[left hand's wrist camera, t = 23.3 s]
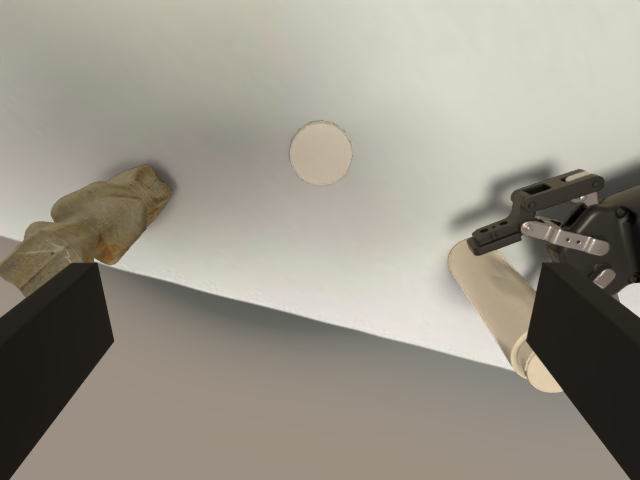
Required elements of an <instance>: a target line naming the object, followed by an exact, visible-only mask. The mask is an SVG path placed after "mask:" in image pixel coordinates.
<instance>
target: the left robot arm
mask: <svg viewBox="0 0 640 480" xmlns="http://www.w3.org/2000/svg"><path fill="white" fill-rule="evenodd" d="M113 342H114V338H113V333H112V329H111V324H110V319H109V314H108V310H107V305H106V301H105V296H104V291H103V287H102V282H101V277H100V272H99V268H98V263H70V264H69V265H68V266H67V267H65V268H64V269H63V270H61V271H60V272H59V273H58V274H56V275H55V276H54V277H52V278H51V279H50V280H48V281H47V282H46V283H45V284H43V285H42V286H41V287H39V288H38V289H37V290H36V291H34V292H33V293H32V294H30V295H29V296H28V297H27V298H25V299H24V300H23V301H21V302H20V303H19V304H18V305H16V306H15V307H14V308H12V309H11V310H10V311H9V312H7V313H6V314H5V315H3V316H2V317H1V318H0V480H9V479H10V478H11V477H12V475H13V474H14V473H15V471H16V470H17V469H18V468H19V466H20V465H21V464H22V462H23V461H24V460H25V458H26V457H27V456H28V454H29V453H30V452H31V450H32V449H33V448H34V446H35V445H36V444H37V442H38V441H39V440H40V439H41V437H42V436H43V435H44V433H45V432H46V431H47V429H48V428H49V427H50V425H51V424H52V423H53V421H54V420H55V419H56V417H57V416H58V415H59V413H60V412H61V411H62V409H63V408H64V407H65V406H66V404H67V403H68V401H69V400H70V399H71V398H72V396H73V395H74V394H75V392H76V391H77V390H78V388H79V387H80V386H81V384H82V383H83V382H84V380H85V379H86V378H87V376H88V375H89V374H90V372H91V371H92V370H93V368H94V367H95V366H96V365H97V363H98V362H99V361H100V359H101V358H102V357H103V355H104V354H105V353H106V351H107V350H108V349H109V347H110V346H111V345H112V344H113ZM526 342H527V344H528V345H529V346H530V347H531V349H532V350H533V351H534V353H535V354H536V355H537V357H538V358H539V359H540V361H541V362H542V363H543V365H544V366H545V367H546V369H547V370H548V371H549V373H550V374H551V375H552V377H553V378H554V379H555V380H556V382H557V383H558V384H559V386H560V387H561V388H562V390H563V391H564V392H565V394H566V395H567V396H568V398H569V399H570V400H571V401H572V403H573V404H574V406H575V407H576V408H577V409H578V411H579V412H580V413H581V415H582V416H583V417H584V419H585V420H586V421H587V423H588V424H589V425H590V427H591V428H592V429H593V431H594V432H595V433H596V435H597V436H598V437H599V439H600V440H601V441H602V442H603V444H604V445H605V446H606V448H607V449H608V450H609V452H610V453H611V454H612V456H613V457H614V458H615V460H616V461H617V462H618V464H619V465H620V466H621V468H622V469H623V470H624V471H625V473H626V474H627V475H628V477H629V478H630V479H631V480H640V318H639V317H638V316H637V315H635V314H634V313H633V312H631V311H630V310H629V309H628V308H626V307H625V306H624V305H622V304H621V303H620V302H619V301H617V300H616V299H615V298H613V297H612V296H611V295H610V294H608V293H607V292H606V291H604V290H603V289H602V288H601V287H599V286H598V285H597V284H595V283H594V282H593V281H592V280H590V279H589V278H588V277H586V276H585V275H584V274H582V273H581V272H580V271H579V270H577V269H576V268H575V267H573V266H572V265H571V264H570V263H542V268H541V272H540V277H539V282H538V286H537V291H536V296H535V300H534V305H533V310H532V314H531V319H530V324H529V328H528V333H527V338H526Z"/></svg>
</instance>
